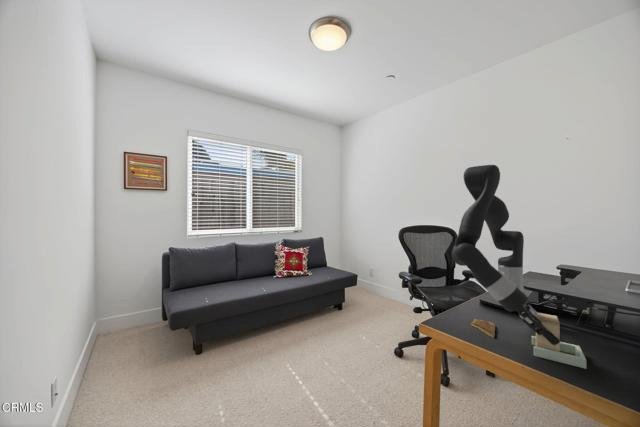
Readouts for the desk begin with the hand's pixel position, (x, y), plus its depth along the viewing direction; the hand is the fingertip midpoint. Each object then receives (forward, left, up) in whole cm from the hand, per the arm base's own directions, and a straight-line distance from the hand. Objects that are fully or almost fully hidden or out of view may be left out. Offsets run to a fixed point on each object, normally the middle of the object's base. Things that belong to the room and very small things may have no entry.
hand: (555, 339), depth 76 cm
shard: (-8, -17, -5) cm, 20 cm away
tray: (0, 0, -5) cm, 5 cm away
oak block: (0, -2, -5) cm, 5 cm away
